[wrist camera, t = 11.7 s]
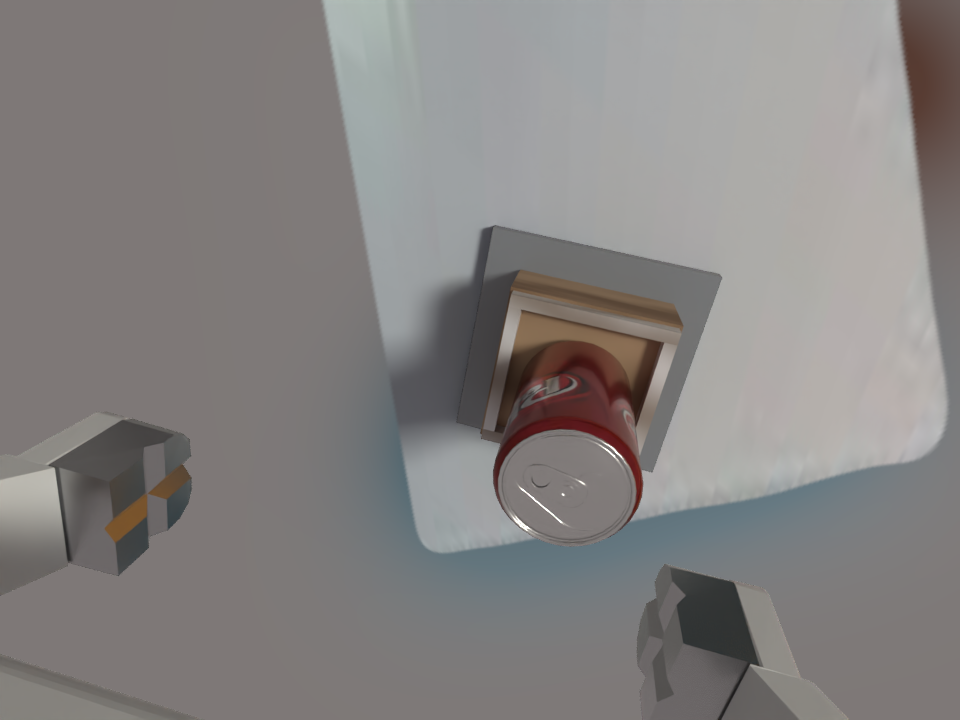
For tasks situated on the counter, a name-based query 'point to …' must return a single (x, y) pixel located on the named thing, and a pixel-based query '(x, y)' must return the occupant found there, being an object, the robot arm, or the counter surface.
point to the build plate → (593, 268)
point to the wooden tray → (582, 317)
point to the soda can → (570, 447)
